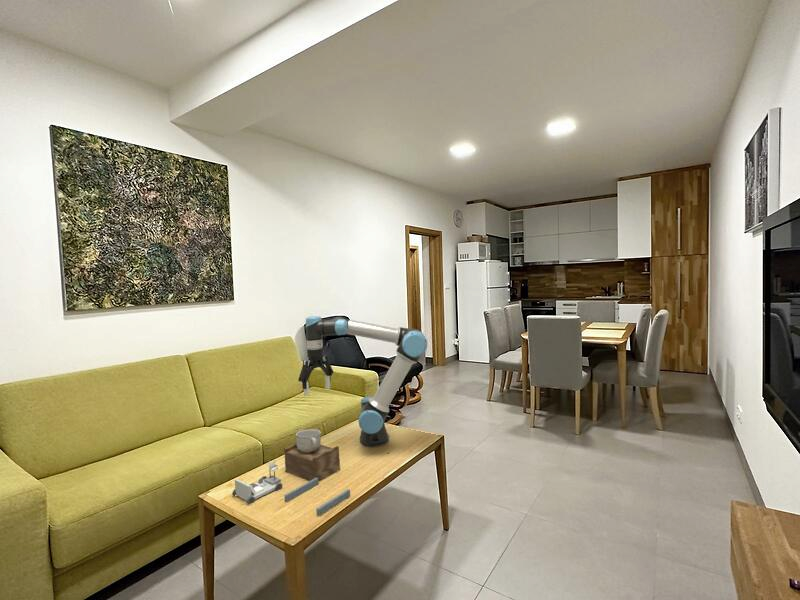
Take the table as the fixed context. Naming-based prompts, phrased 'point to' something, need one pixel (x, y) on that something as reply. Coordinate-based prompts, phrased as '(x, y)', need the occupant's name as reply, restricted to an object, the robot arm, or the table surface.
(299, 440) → the teacup
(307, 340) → the robot arm
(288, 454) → the walnut stand
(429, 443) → the table surface
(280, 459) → the table surface
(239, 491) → the toy rover
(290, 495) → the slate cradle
